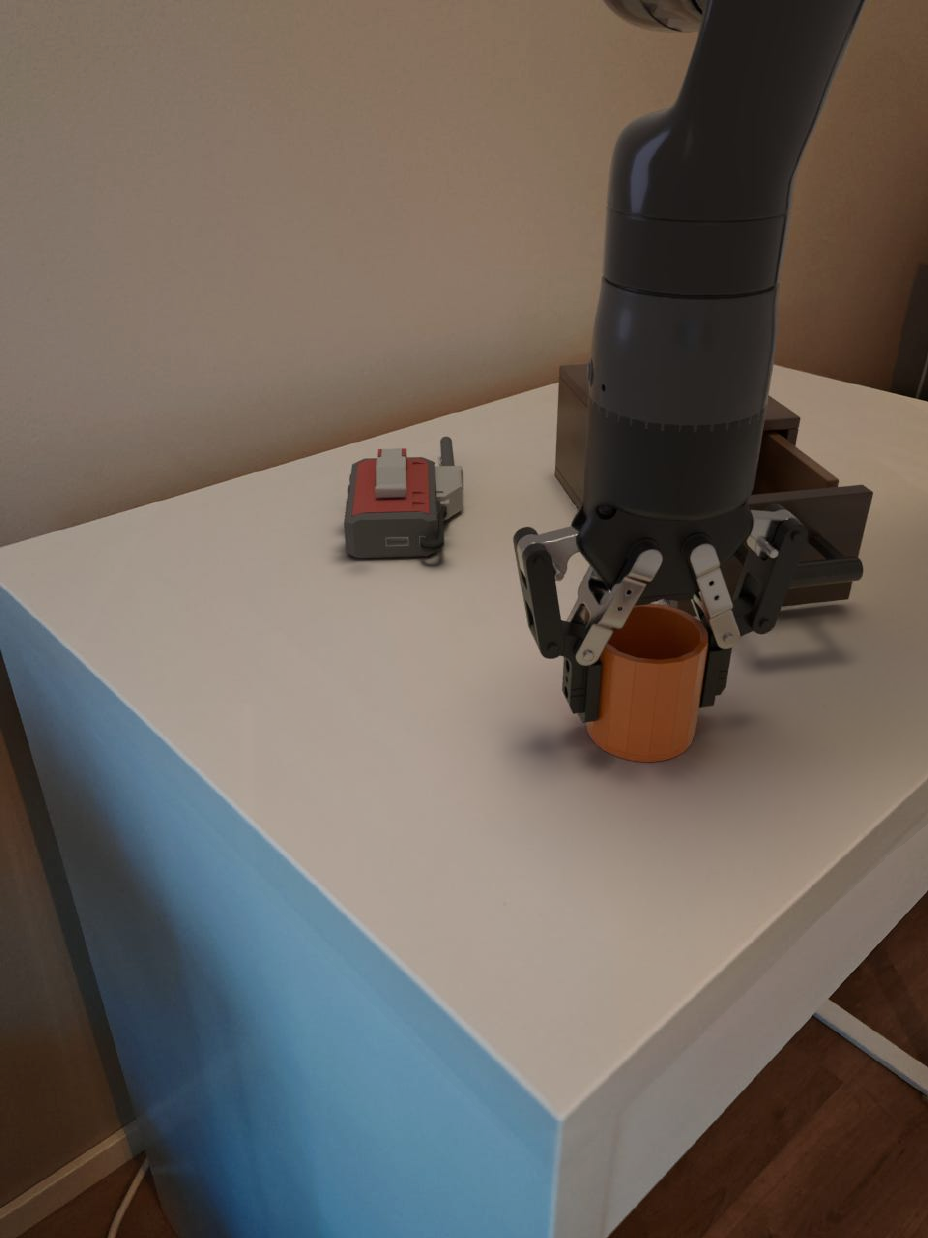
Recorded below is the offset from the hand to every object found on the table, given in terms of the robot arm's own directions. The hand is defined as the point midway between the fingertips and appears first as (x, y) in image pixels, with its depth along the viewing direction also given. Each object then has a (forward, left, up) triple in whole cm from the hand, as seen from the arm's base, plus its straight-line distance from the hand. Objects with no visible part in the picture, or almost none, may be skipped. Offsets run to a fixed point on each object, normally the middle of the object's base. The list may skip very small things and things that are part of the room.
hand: (642, 704), depth 50 cm
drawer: (-11, -13, -1) cm, 17 cm away
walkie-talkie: (+8, -30, -2) cm, 31 cm away
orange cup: (0, 0, -2) cm, 2 cm away
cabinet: (-11, -26, -2) cm, 28 cm away
